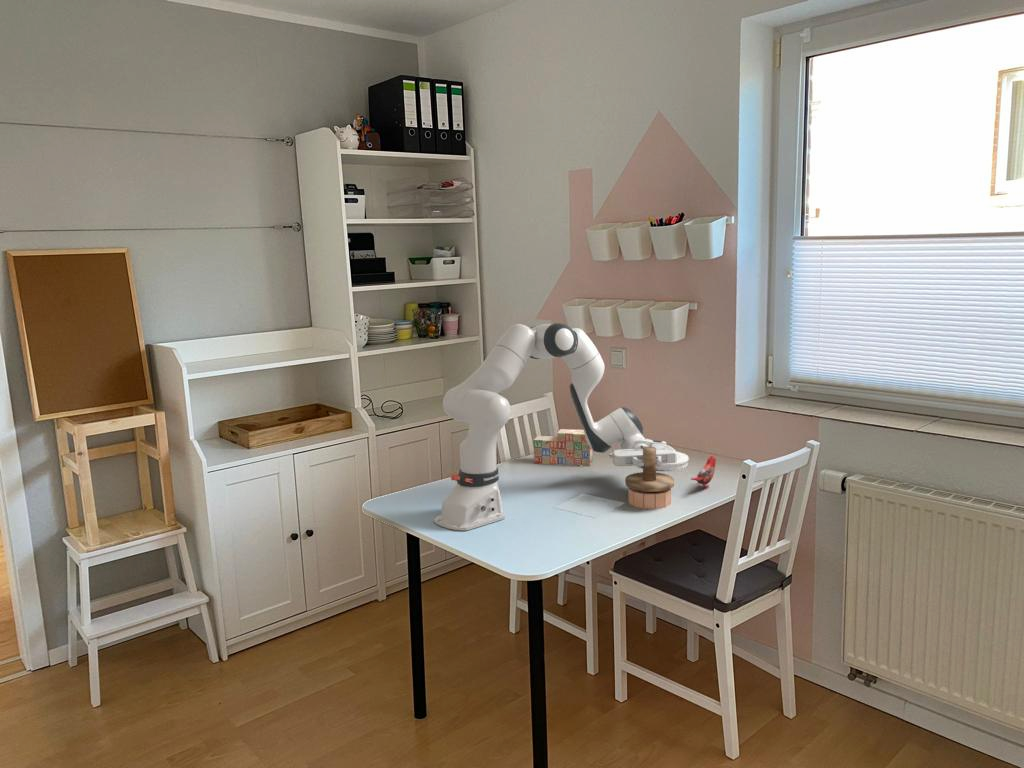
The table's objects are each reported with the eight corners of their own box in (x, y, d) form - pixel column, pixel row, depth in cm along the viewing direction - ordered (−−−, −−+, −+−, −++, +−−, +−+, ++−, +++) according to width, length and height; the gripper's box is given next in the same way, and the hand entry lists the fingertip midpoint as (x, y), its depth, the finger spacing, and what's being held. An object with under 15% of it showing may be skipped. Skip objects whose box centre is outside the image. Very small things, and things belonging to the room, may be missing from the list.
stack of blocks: (533, 463, 290) (532, 431, 287) (538, 459, 296) (537, 427, 293) (590, 466, 283) (589, 434, 281) (593, 461, 289) (593, 429, 287)
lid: (690, 457, 292) (690, 449, 291) (687, 473, 273) (687, 464, 272) (644, 455, 296) (644, 447, 296) (638, 470, 277) (638, 462, 277)
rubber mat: (596, 519, 231) (596, 518, 231) (553, 508, 241) (553, 507, 241) (625, 504, 242) (625, 503, 242) (583, 494, 253) (583, 493, 253)
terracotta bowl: (657, 512, 234) (657, 497, 233) (620, 504, 242) (620, 489, 241) (678, 501, 244) (678, 485, 243) (642, 493, 252) (642, 478, 251)
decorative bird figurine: (719, 483, 259) (719, 454, 257) (695, 498, 246) (695, 468, 244) (711, 482, 261) (711, 453, 259) (686, 496, 247) (686, 466, 246)
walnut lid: (658, 494, 232) (658, 457, 229) (615, 485, 241) (615, 450, 239) (682, 482, 243) (683, 446, 241) (641, 473, 252) (641, 439, 250)
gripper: (607, 444, 252) (617, 455, 238) (669, 440, 253) (682, 452, 240) (608, 462, 253) (617, 475, 240) (669, 459, 255) (682, 471, 241)
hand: (650, 463), depth 240 cm, fingers closed on walnut lid, 4 cm apart
